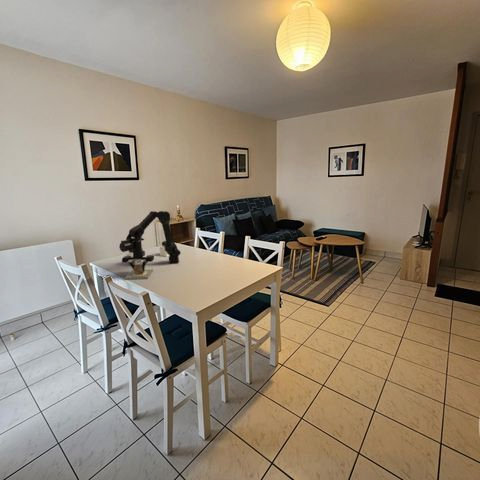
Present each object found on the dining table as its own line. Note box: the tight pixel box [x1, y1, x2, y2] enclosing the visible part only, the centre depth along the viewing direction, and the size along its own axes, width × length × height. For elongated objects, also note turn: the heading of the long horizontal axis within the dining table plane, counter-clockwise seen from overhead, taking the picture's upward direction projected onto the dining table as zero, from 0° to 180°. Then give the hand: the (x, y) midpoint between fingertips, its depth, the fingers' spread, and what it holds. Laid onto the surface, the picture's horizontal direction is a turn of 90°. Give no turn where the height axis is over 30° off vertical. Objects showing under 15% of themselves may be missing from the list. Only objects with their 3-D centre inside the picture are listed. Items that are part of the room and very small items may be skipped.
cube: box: [134, 263, 146, 274], centre depth 168 cm, size 5×5×5 cm
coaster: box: [124, 269, 154, 281], centre depth 169 cm, size 14×14×1 cm
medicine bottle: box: [159, 240, 169, 258], centre depth 212 cm, size 7×7×12 cm
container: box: [125, 250, 143, 265], centre depth 191 cm, size 8×8×13 cm
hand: (139, 271), depth 169 cm, fingers closed on cube, 5 cm apart
